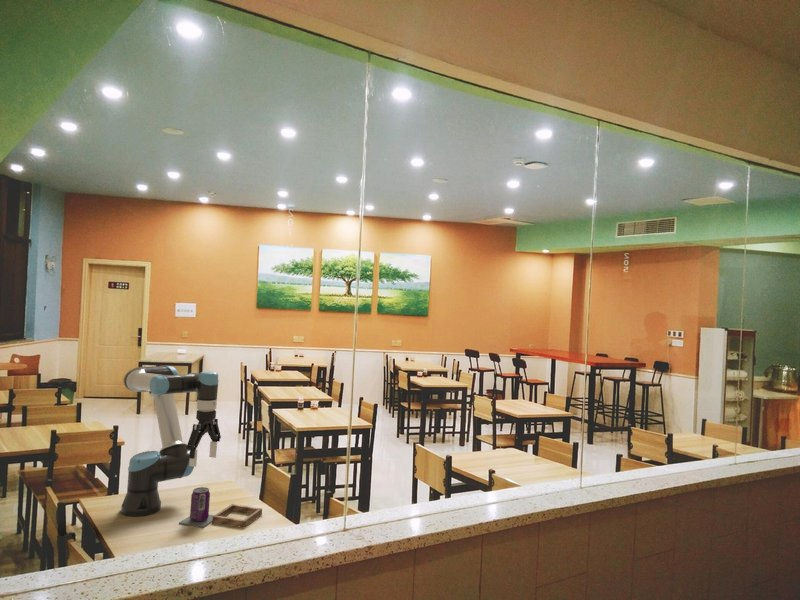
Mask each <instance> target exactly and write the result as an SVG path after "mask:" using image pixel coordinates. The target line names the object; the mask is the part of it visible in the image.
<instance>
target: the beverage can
mask: <svg viewBox="0 0 800 600" xmlns="http://www.w3.org/2000/svg"><path fill="white" fill-rule="evenodd" d="M190 495H191V497H190V510H189V511H190V512H189V516H190V519H191V520H193V521H195V522H200V521H204V520H205V519H207V518H208V516H209V515H210V514H209V513H210V501H211V499H210V497H211V493H210V488H209V487H205V486H204V487H203V486H200V487H195V488H194V489H192V493H191V494H190Z"/></svg>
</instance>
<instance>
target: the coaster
mask: <svg viewBox="0 0 800 600" xmlns="http://www.w3.org/2000/svg"><path fill="white" fill-rule="evenodd" d="M214 515H215V514H209V516H208V518H207V519H205V520H204V521H200V522H195V521H193V520H191V519H190V515H189V516H187V517H186V518H184V519H182V520H181V521H179V522H178V524H179V525H183V526H187V527H196V528H199V529H200V528H201V529H204V528H206V527H207V526H209V525H210V524H213V523H212V521H213V516H214Z"/></svg>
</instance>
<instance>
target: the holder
mask: <svg viewBox="0 0 800 600" xmlns="http://www.w3.org/2000/svg"><path fill="white" fill-rule="evenodd" d="M232 512H237V513H241V512H243V513H242V514H247V513H248V514H249V515H248V516H247V517H246V518H244V519H240V518H234V517H228V516H229V514H231V513H232ZM262 514H263V508H261V507H256V506H255V507H254V506H247V505H241V504H240V505H239V504H236V503H235V504H234V503H231V504H229V505H228V506H227V507H225V508H223V509H222V510H220V511H218V512H217V513H215V514H213V515H214V516H213V521H212V523H211V524H220V525H224V526H225V525H226V526H231V525H232V527H237V526H240V527H239V528H243V527H245V528H246V527H247V526H249V525H250V524H252V521H253V522H254V521H255V520H257V519H258V518H260V517H261V516H263V515H262ZM256 518H257V519H256ZM248 524H249V525H248Z"/></svg>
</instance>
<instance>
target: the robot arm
mask: <svg viewBox="0 0 800 600" xmlns="http://www.w3.org/2000/svg"><path fill="white" fill-rule="evenodd" d="M219 381H220V380H219V373H218V372H216V371H200V372H199V373H198V372H190V373H188V374H187V373H186V374H179V372H178V370H177V368H175V367H174V366H171V365H158V366H157V365H155V366H139V367H137V366H136V367H134V368H132V369H130V370H128V371H127V372H126V374H125V375H124V377H123V385H124V387H125V388H126V389H127V390H129V391H130V392H138V393H145V392H148V393H149V397H150V398H152V399H153V400H154V401H153V402H154V405H155V406H154V407H155V411H156V417H157V424H158V429H159V435H160V442H161V448H160V450H159V451H157V450H151V451H150V450H146V451H142V452H139V453H136V454H134V455H133V456H131V458H130V459H129V465H128V468H127V471H128V474H127V475H128V476H127V486H126V487H127V488H126V489H127V490H126V494H125V497H124V499H123V502H122V504H121V506H120V507H121V508H120V512H121V514H122V515H125V516H129V517H140V516H141V517H142V516H143V517H144V516H146V515H147V516H148V515H151V514H154V513H156V512H158V511H160V510H161V508H162V501H161V499H160V494H159V490H158V487H159V483H160V482H166V481H171V480H176V479H182V478H185V477H189V476H190V475H191V474H192V473H193V471H194V468H195V467H197V461H198V449H197V448H198V446H199V444H200V442H201V440H202V438H203V436H205V435H206V434H208V436H209V437H210V439H211V441H209V458H213V459H216V457H217V448H218V442H220V441H221V438H222V436H221V432H220V427H219V422H218V420H219V419H218V418H217V410H216V409H217V400H218V389H219ZM182 393H197V402H196V409H197V410H196V416H195V417H196V420H197V421H198V423H197V424H196V423H195V424H194V423H193V424H192V430H191V433H190V437H189V439H188V441H187V443H185V442H184V440H183V436H182V431H181V426H180V421H179V415H178V410H177V405H176V399H175V394H182Z"/></svg>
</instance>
